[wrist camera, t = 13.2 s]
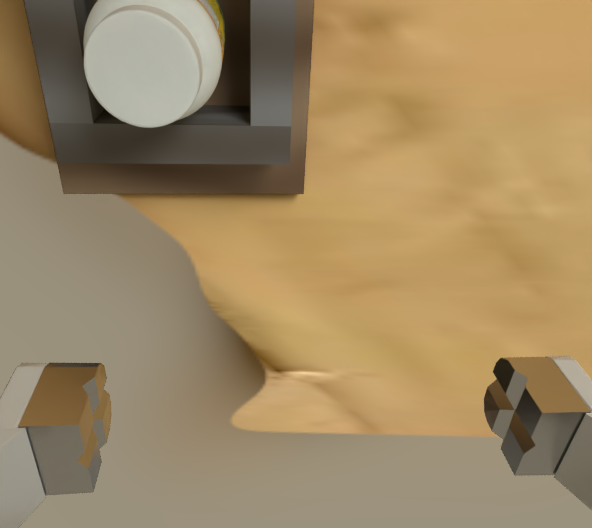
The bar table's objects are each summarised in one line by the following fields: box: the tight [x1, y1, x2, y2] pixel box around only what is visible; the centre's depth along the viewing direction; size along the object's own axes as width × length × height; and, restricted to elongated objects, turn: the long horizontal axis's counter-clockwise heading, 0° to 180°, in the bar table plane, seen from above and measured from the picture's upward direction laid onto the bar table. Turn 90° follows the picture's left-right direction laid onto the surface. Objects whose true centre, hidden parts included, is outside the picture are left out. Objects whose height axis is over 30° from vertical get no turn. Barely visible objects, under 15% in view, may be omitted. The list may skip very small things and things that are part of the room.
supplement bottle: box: [83, 0, 225, 128], centre depth 22 cm, size 5×5×10 cm
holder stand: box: [24, 0, 314, 194], centre depth 25 cm, size 18×14×4 cm
